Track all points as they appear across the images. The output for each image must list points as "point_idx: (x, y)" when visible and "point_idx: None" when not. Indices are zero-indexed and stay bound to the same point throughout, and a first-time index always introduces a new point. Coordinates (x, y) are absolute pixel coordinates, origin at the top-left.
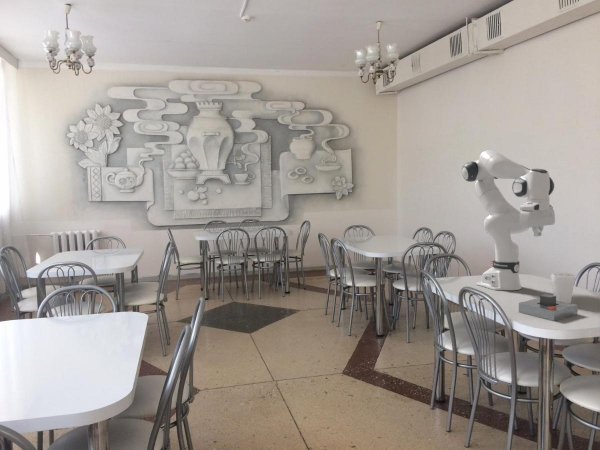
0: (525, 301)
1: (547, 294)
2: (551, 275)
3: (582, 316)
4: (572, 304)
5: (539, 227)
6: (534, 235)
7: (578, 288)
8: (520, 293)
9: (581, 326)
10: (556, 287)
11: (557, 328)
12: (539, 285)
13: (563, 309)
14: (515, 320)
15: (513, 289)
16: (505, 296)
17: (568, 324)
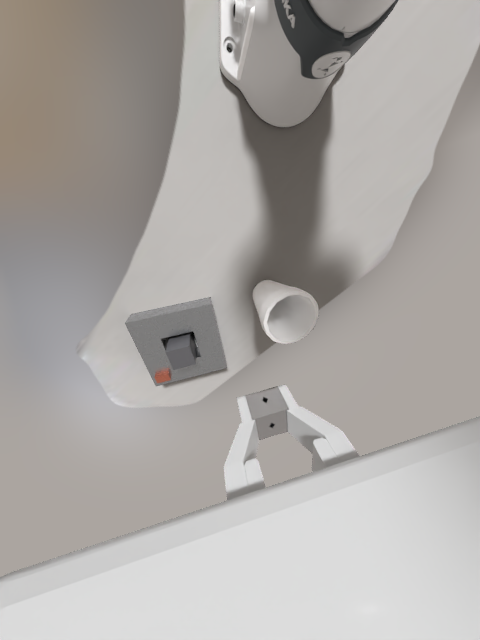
0: (149, 318)
1: (188, 349)
2: (271, 301)
3: None
4: (221, 363)
5: (315, 463)
6: (238, 403)
7: (407, 209)
8: (259, 169)
9: (179, 400)
10: (257, 309)
11: (136, 400)
12: (384, 113)
13: (184, 378)
14: (89, 355)
15: (270, 121)
16: (195, 175)
17: (168, 390)
